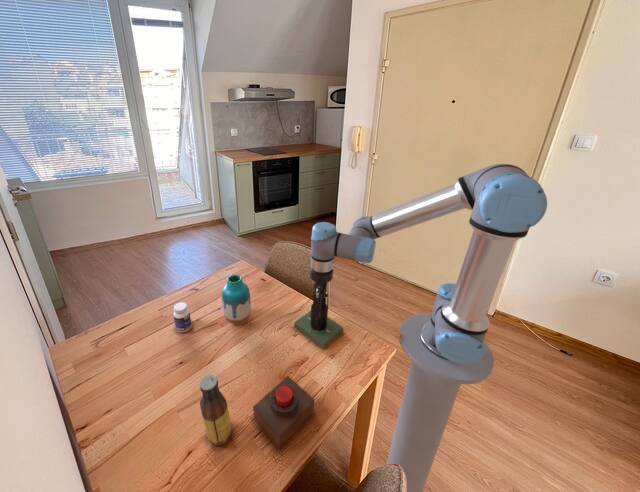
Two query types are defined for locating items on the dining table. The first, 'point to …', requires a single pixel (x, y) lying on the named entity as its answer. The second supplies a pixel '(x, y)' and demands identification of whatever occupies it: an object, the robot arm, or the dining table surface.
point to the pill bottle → (182, 317)
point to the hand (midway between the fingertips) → (318, 320)
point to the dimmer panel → (318, 337)
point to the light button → (283, 396)
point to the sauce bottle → (214, 411)
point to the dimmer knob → (323, 316)
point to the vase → (236, 300)
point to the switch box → (283, 413)
